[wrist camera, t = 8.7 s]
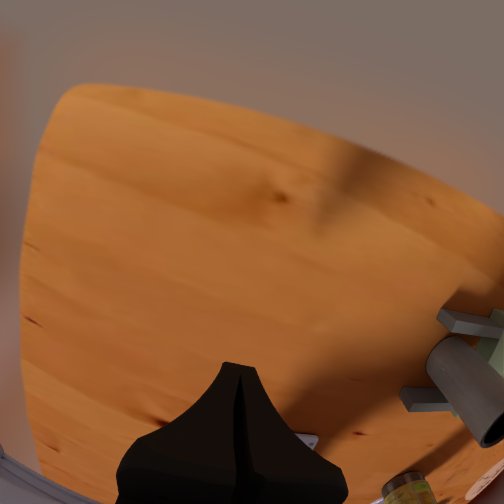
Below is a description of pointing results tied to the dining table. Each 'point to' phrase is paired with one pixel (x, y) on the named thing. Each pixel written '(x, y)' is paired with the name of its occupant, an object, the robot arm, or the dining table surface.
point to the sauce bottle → (408, 490)
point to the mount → (489, 348)
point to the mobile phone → (378, 501)
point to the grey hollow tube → (470, 388)
